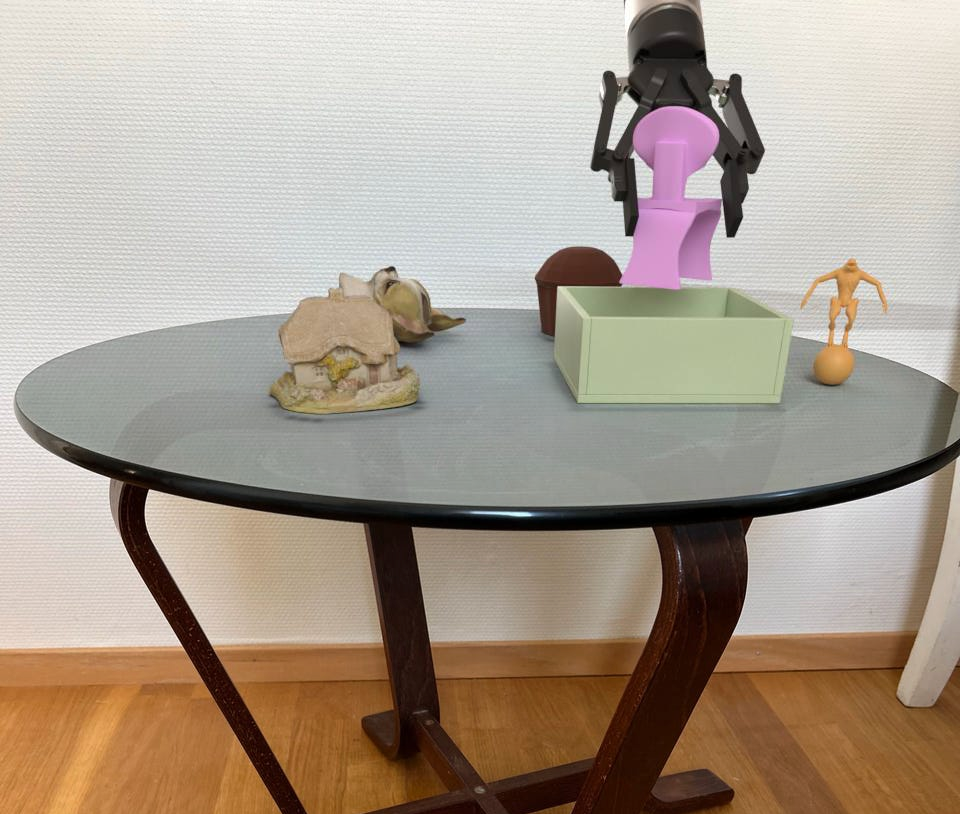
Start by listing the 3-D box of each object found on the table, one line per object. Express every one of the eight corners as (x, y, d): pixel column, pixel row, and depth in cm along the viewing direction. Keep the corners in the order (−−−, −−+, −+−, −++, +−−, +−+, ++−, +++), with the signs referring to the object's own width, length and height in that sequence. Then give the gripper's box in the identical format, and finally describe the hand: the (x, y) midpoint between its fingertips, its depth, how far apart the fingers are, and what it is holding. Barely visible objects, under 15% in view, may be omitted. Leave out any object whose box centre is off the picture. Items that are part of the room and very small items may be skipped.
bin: (724, 359, 107) (733, 287, 104) (780, 403, 90) (794, 319, 86) (553, 358, 106) (557, 286, 103) (577, 403, 89) (582, 317, 85)
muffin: (597, 344, 114) (603, 256, 109) (516, 334, 119) (519, 249, 114) (633, 329, 123) (641, 246, 118) (557, 320, 128) (561, 241, 123)
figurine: (788, 385, 97) (809, 260, 91) (788, 372, 102) (808, 254, 96) (873, 392, 95) (901, 264, 89) (869, 378, 100) (895, 257, 94)
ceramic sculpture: (361, 253, 117) (471, 269, 112) (361, 325, 121) (467, 343, 117) (316, 264, 108) (433, 281, 104) (317, 340, 113) (430, 360, 108)
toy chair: (723, 280, 94) (746, 108, 87) (689, 291, 87) (711, 106, 80) (647, 273, 98) (663, 107, 91) (609, 282, 91) (623, 105, 84)
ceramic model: (269, 416, 84) (257, 298, 79) (269, 386, 93) (258, 279, 88) (425, 410, 86) (423, 295, 81) (409, 381, 96) (407, 277, 91)
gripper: (759, 72, 98) (783, 255, 91) (552, 68, 97) (562, 253, 90) (785, 5, 91) (813, 199, 84) (561, 0, 90) (573, 195, 83)
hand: (683, 226), depth 87 cm, fingers closed on toy chair, 9 cm apart
